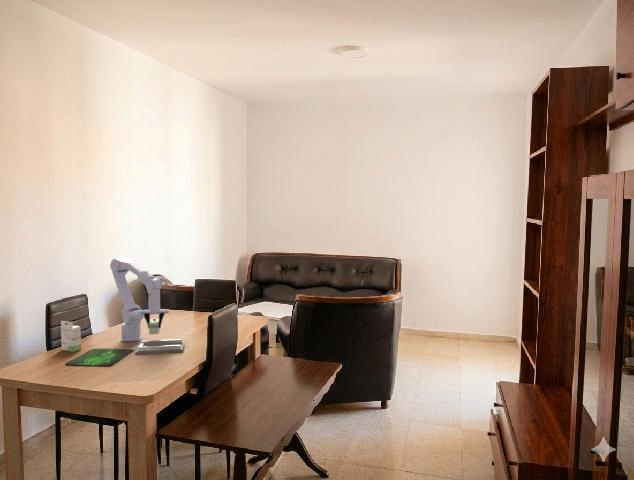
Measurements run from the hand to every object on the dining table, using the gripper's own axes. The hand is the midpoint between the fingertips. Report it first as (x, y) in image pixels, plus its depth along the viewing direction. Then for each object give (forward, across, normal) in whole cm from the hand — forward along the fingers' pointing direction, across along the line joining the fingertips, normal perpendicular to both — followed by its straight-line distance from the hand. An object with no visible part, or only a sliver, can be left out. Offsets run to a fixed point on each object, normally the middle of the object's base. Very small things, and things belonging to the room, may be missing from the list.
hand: (154, 327), depth 266 cm
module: (+2, 0, 0) cm, 2 cm away
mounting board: (+8, +4, -12) cm, 15 cm away
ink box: (+8, -39, -5) cm, 40 cm away
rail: (+7, +4, -12) cm, 14 cm away
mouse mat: (+9, -22, -20) cm, 31 cm away
